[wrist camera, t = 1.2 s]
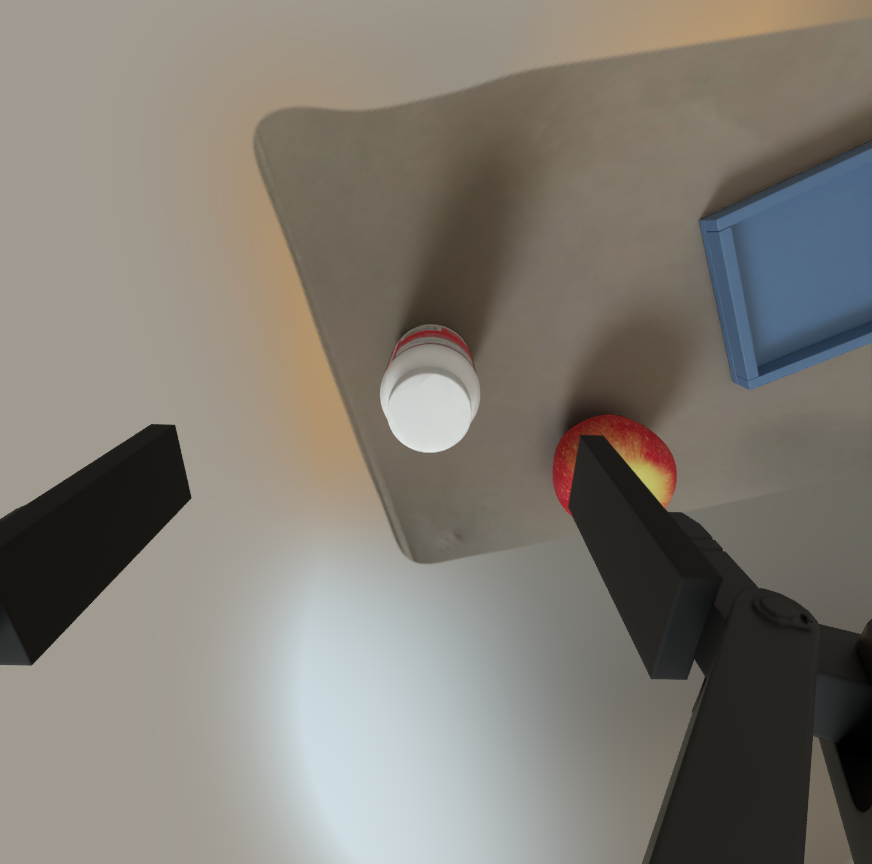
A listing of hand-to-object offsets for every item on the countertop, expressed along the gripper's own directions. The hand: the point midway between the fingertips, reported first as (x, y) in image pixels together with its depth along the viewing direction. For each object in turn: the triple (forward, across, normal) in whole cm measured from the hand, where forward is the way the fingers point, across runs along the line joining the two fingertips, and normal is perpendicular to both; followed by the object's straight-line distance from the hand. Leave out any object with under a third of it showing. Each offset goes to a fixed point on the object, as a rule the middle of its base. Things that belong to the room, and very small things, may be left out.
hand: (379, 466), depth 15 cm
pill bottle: (+21, +2, -2) cm, 21 cm away
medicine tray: (+21, +28, +6) cm, 35 cm away
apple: (+21, +15, -9) cm, 27 cm away
